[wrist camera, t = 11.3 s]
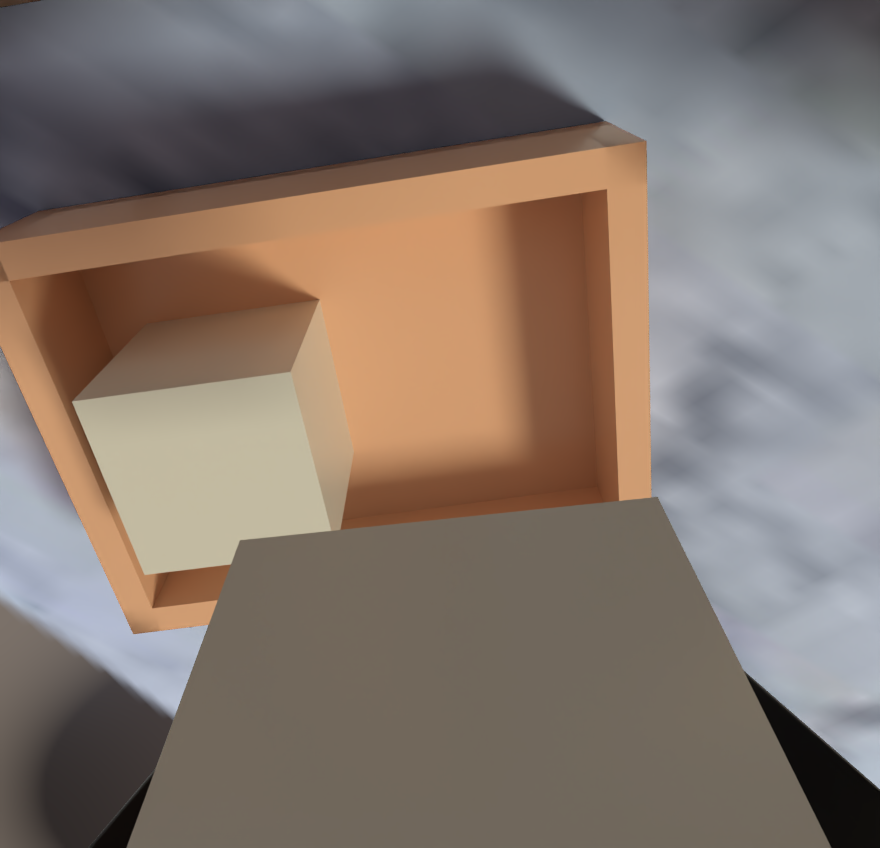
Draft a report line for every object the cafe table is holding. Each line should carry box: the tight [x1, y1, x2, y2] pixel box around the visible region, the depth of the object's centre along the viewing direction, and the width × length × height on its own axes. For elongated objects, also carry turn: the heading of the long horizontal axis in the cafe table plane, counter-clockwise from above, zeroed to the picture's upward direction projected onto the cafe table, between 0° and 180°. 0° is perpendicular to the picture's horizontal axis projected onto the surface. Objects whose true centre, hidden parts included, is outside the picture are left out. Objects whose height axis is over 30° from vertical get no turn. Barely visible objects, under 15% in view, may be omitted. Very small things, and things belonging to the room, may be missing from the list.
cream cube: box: [72, 299, 354, 575], centre depth 16 cm, size 4×4×4 cm
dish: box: [0, 121, 651, 634], centre depth 17 cm, size 12×9×3 cm
